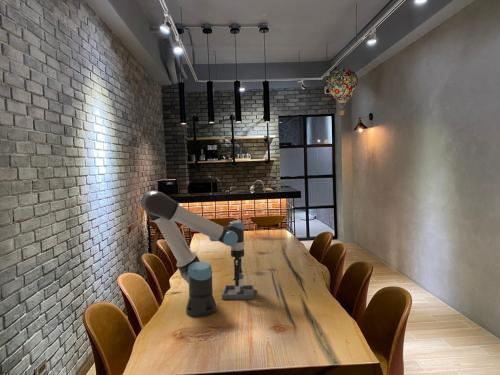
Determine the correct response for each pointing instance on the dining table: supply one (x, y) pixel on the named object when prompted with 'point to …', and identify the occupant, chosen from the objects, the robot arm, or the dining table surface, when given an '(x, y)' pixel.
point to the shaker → (241, 284)
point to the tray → (230, 294)
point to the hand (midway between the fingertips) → (238, 288)
